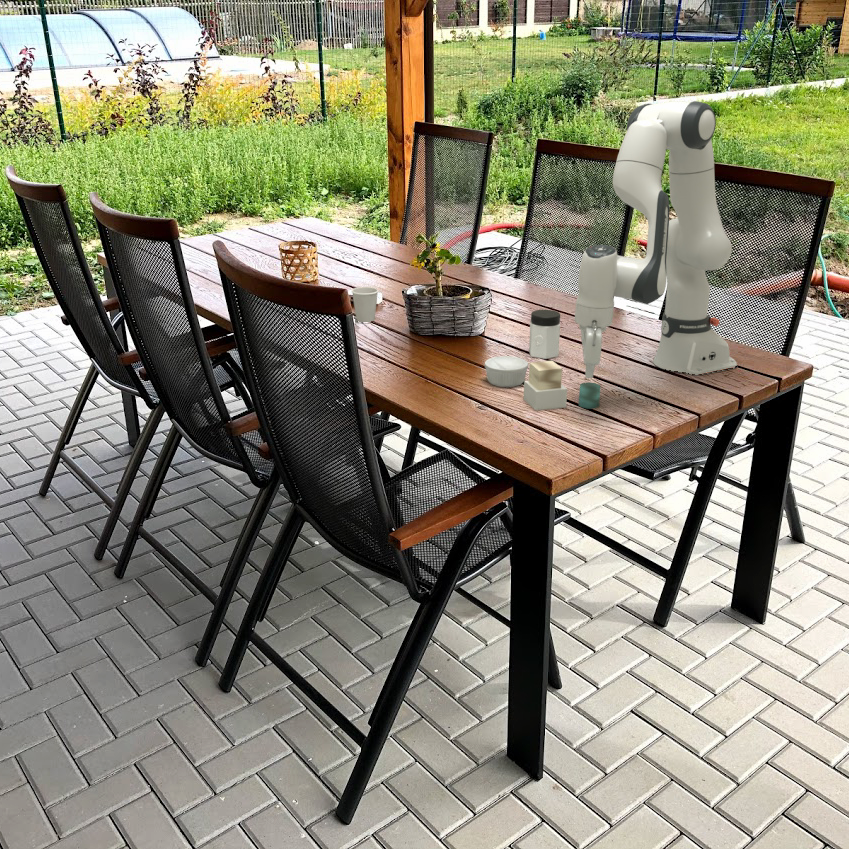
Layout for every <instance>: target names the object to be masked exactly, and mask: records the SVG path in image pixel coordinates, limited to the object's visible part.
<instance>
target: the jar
mask: <svg viewBox="0 0 849 849" xmlns="http://www.w3.org/2000/svg"><path fill="white" fill-rule="evenodd" d="M560 323H561V313H560V312H559V311H556V310H552V309H536V310H533V311H531V314H530V323H529V340H528V341H529V343H528V345H529V346H528V352H529V355H530V357H531V358H537V359H542V360H547V359H553V358H558V357H559V352H560V351H559V349H560V337H561V335H560V334H561V324H560Z"/></svg>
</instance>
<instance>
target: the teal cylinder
mask: <svg viewBox="0 0 849 849" xmlns="http://www.w3.org/2000/svg"><path fill="white" fill-rule="evenodd" d="M578 391H579V393H578V406H579V407H581V408H584V409H586V410H590V409H591V410H592V409H594V410H595V409H596V408H597V409H598V408H599V406H600V400H601V398H600V397H601V385H600V384H599V383H596V382H591V381H590V382H588V381H587V382H582V383H580V384H579V390H578Z"/></svg>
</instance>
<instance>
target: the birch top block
mask: <svg viewBox="0 0 849 849" xmlns="http://www.w3.org/2000/svg"><path fill="white" fill-rule="evenodd" d="M562 377H563V367H561V366H560V365H559V364H557V363H556V362H555V361H553V360H544V361H534V362H529V363H528V381H529V383H530V384H531V385H533V386H534V387H535V388H536V389H537V390H546V389H555V388H561V384H562V379H563V378H562Z"/></svg>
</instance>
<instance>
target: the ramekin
mask: <svg viewBox="0 0 849 849" xmlns="http://www.w3.org/2000/svg"><path fill="white" fill-rule="evenodd" d="M484 368H485V372H486V378H487V381H488V382H489V384H491V385H493V386H496V387H499V388H501V387H502V388H512V387H518V386H520V385H522V384H524V381H526V375H527V371H528V369H529V362H528V361H527V360H526V359H524V358H521V357H518V356H511V355H509V356H507V355H502V356H501V355H500V356H493V357H490V358H488V359H487V360H485V361H484Z"/></svg>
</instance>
